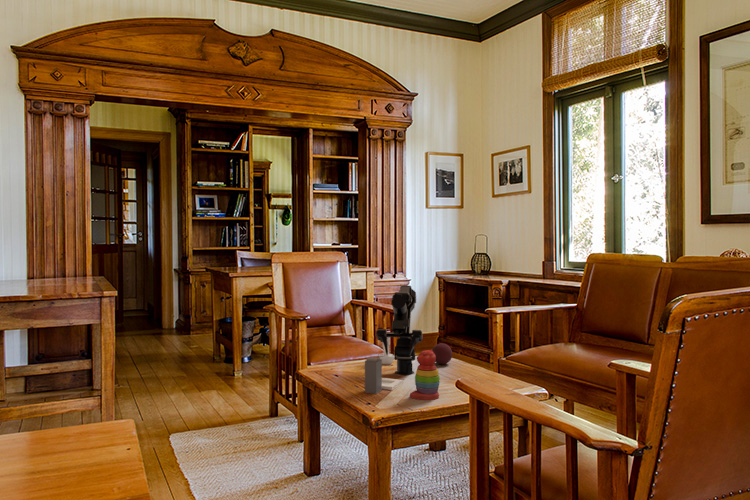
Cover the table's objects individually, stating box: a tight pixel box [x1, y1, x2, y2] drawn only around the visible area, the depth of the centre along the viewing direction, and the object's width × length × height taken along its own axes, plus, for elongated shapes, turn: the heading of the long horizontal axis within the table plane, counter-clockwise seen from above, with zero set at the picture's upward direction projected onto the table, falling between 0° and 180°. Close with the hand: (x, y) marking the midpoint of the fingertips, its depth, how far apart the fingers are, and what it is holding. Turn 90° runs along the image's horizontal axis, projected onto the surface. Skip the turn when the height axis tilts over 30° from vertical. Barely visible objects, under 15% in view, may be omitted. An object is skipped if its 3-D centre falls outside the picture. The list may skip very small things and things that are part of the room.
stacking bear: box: [409, 349, 441, 401], centre depth 209 cm, size 11×10×18 cm
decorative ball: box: [431, 342, 453, 365], centre depth 263 cm, size 10×10×10 cm
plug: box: [364, 356, 383, 395], centre depth 215 cm, size 5×5×13 cm
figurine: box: [377, 337, 395, 365], centre depth 265 cm, size 7×9×15 cm
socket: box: [382, 377, 404, 391], centre depth 226 cm, size 12×12×1 cm
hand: (398, 354), depth 220 cm, fingers open, 9 cm apart
